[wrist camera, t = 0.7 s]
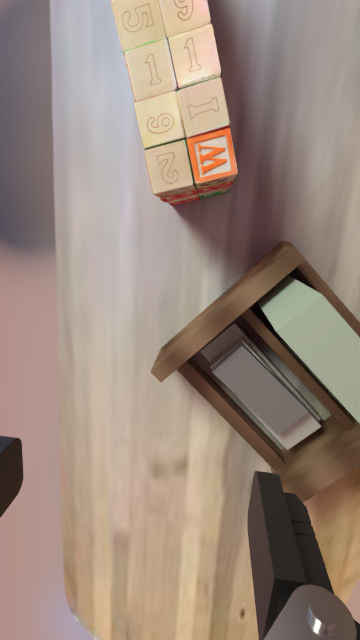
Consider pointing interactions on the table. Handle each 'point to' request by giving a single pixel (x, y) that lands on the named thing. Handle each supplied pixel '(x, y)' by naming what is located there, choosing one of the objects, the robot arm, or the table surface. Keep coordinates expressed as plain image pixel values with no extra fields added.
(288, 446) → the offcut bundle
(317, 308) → the tall sheet
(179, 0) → the stack of blocks
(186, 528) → the table surface
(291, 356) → the rack
